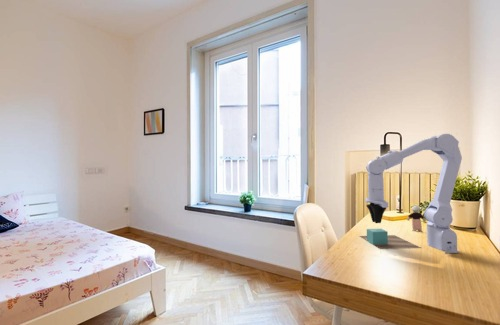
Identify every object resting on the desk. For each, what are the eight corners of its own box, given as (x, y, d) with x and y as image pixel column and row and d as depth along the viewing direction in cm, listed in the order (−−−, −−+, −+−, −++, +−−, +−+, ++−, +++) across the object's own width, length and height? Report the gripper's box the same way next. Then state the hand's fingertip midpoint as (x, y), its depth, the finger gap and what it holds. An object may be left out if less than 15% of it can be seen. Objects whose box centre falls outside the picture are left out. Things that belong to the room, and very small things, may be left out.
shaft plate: (421, 251, 99) (421, 239, 99) (380, 252, 99) (379, 241, 99) (394, 237, 117) (394, 228, 117) (359, 238, 117) (358, 229, 117)
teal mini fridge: (387, 244, 104) (387, 231, 105) (372, 244, 104) (372, 231, 104) (381, 240, 109) (380, 228, 110) (367, 240, 109) (366, 228, 109)
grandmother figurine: (422, 230, 128) (421, 204, 128) (426, 232, 124) (426, 206, 124) (405, 230, 129) (405, 204, 129) (409, 232, 125) (409, 206, 125)
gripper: (358, 187, 114) (359, 218, 114) (375, 191, 100) (375, 226, 100) (374, 187, 114) (375, 218, 114) (393, 190, 100) (394, 226, 100)
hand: (376, 222), depth 107 cm, fingers closed
